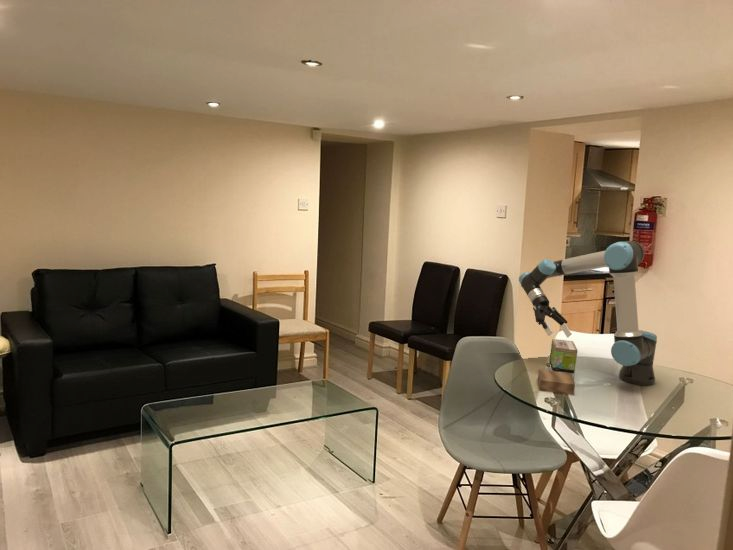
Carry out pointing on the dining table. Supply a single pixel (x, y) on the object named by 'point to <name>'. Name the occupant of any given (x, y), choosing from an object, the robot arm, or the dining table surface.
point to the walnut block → (556, 382)
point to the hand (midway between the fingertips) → (560, 335)
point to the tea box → (563, 356)
